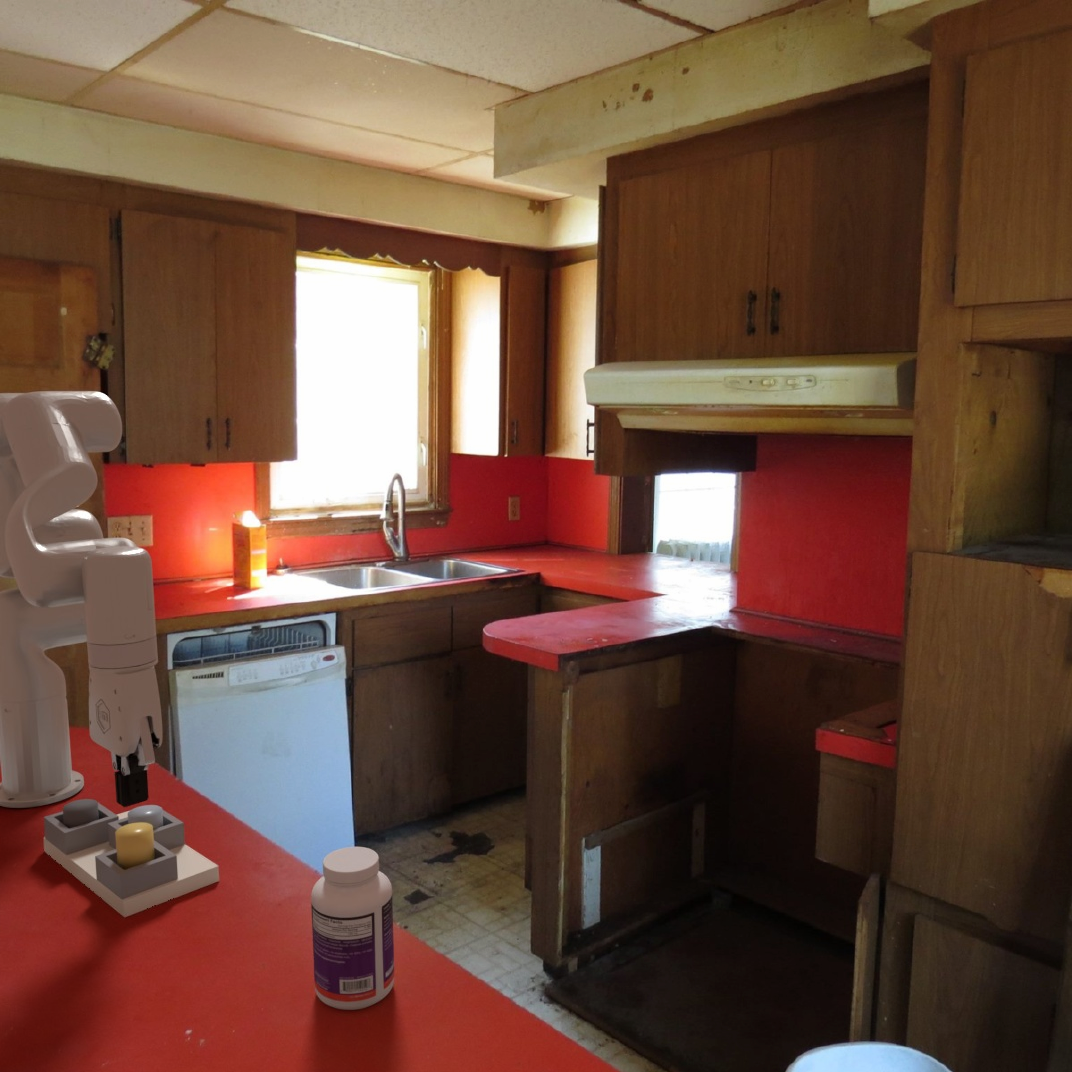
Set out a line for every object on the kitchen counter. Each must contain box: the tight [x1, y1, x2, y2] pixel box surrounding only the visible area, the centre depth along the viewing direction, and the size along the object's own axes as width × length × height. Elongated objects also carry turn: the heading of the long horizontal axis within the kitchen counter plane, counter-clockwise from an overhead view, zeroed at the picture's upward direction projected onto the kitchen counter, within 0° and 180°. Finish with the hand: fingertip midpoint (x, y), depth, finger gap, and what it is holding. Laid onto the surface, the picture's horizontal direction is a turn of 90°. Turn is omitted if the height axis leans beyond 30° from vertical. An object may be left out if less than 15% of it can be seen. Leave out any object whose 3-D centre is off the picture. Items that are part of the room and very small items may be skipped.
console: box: [42, 802, 220, 918], centre depth 129 cm, size 24×12×5 cm, turn 46°
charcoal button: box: [62, 798, 99, 829], centre depth 132 cm, size 4×4×4 cm
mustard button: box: [115, 822, 155, 869], centre depth 121 cm, size 4×4×4 cm
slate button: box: [128, 804, 163, 829], centre depth 130 cm, size 4×4×4 cm
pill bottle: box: [310, 846, 395, 1011], centre depth 102 cm, size 8×8×14 cm
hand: (132, 801), depth 120 cm, fingers closed
